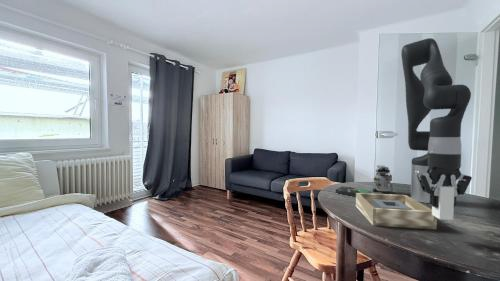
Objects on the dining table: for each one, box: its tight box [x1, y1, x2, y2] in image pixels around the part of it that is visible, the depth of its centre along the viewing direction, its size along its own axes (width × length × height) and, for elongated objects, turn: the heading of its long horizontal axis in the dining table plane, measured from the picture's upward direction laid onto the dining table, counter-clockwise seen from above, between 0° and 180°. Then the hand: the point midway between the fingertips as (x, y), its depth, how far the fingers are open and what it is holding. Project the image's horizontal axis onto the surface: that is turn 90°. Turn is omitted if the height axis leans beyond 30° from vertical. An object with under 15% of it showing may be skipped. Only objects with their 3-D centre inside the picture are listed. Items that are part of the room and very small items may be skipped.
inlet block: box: [372, 199, 412, 210], centre depth 85 cm, size 10×10×4 cm
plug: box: [431, 184, 455, 221], centre depth 67 cm, size 4×4×13 cm
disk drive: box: [335, 185, 372, 198], centre depth 115 cm, size 10×3×15 cm
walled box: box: [355, 193, 438, 231], centre depth 85 cm, size 20×20×6 cm
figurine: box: [372, 164, 394, 195], centre depth 116 cm, size 9×12×15 cm
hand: (442, 206), depth 67 cm, fingers closed on plug, 3 cm apart
